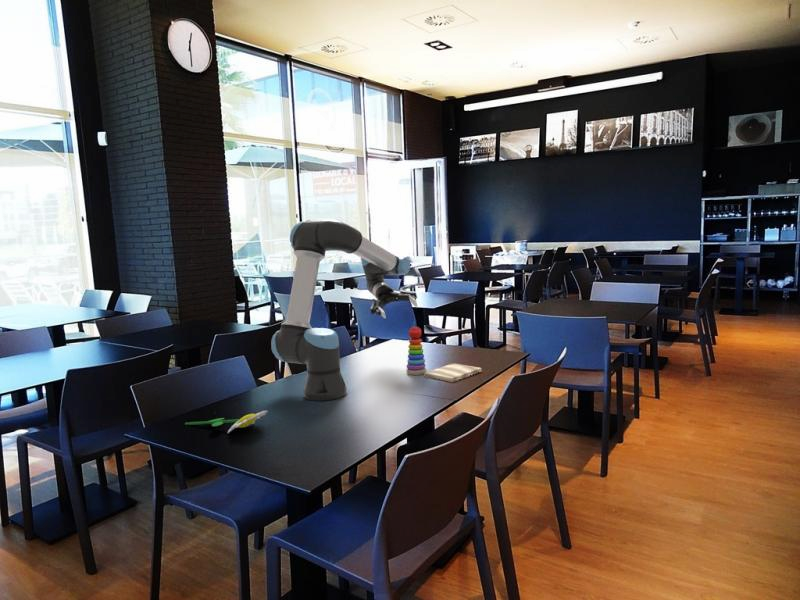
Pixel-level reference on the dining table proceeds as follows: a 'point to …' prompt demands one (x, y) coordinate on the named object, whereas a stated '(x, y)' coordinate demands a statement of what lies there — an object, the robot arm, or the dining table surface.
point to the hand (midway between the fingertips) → (400, 309)
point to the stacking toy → (415, 353)
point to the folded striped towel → (452, 372)
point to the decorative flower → (239, 423)
